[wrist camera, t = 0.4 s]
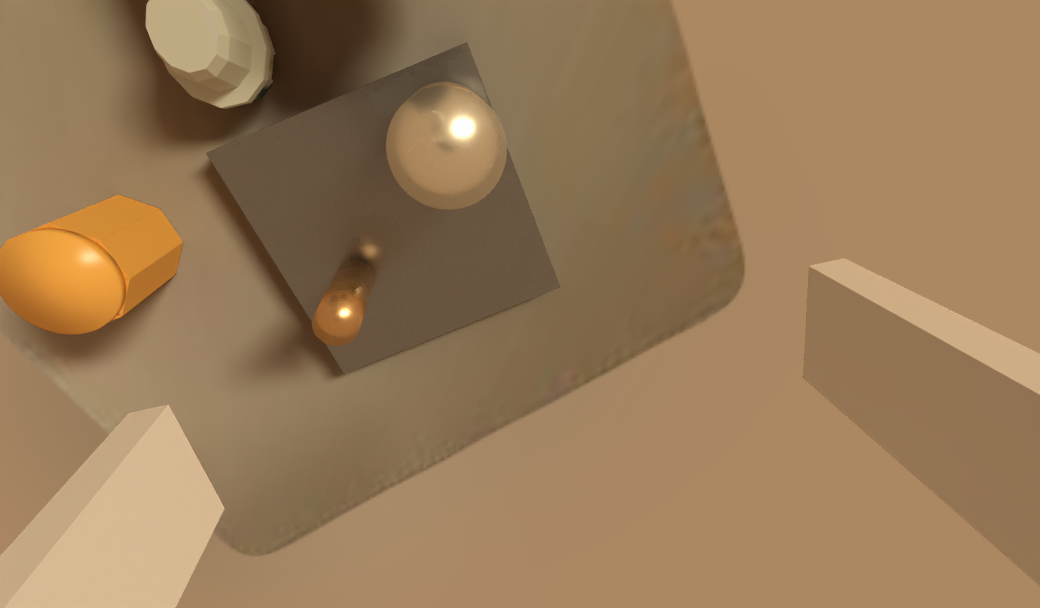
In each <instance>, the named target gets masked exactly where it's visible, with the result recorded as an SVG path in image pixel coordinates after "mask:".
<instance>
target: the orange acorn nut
mask: <svg viewBox="0 0 1040 608" xmlns="http://www.w3.org/2000/svg"><path fill="white" fill-rule="evenodd" d="M182 245H183V241H182V240H181V238H180V237H179V235H178V234H177V233H176V231H175V230H174V228H173V227H172V225H171V224H170V222H169V221H168V220H167V218H166V217H165V215H164V214H163V212H162V211H161V209H159V208H156V207H153V206H150V205H147V204H144V203H141V202H139V201H136V200H133V199H130V198H127V197H124V196H121V195H117V196H114V197H112V198H109V199H107V200H104V201H102V202H99V203H97V204H94V205H92V206H89V207H87V208H84V209H82V210H79V211H77V212H75V213H72V214H70V215H67V216H65V217H62V218H60V219H57V220H55V221H52V222H50V223H47V224H45V225H43V226H40V227H38V228H36V229H33V230H31V231H29V232H26V233H24V234H21V235H19V236H16V237H14V238H12V239H10V240H7V241H6V243H5V244H4V245H3V246H2V247H1V249H0V295H1V296H2V298H3V299H4V301H5V302H6V303H7V304H8V306H9V307H10V308H11V309H12V310H13V311H14V312H15V313H17V314H18V315H19V316H20V317H22V318H23V319H25V320H26V321H28V322H29V323H31V324H33V325H35V326H37V327H40V328H42V329H45V330H48V331H51V332H55V333H60V334H83V333H88V332H92V331H94V330H97V329H99V328H101V327H102V326H104V325H105V324H107V323H108V322H110V321H112V320H115V319H117V318H120V317H122V316H123V315H125V314H126V313H127V312H128V311H130V310H131V309H132V308H133V307H135V306H136V305H137V304H139V303H140V302H141V301H142V300H144V299H145V298H146V297H147V296H149V295H150V294H151V293H152V292H154V291H155V290H156V289H158V288H159V287H160V286H161V285H163V284H164V283H165V282H166V281H168V280H169V279H170V278H172V277H173V276H174V275H175V274H176V271H177V267H178V263H179V258H180V254H181V250H182Z"/></svg>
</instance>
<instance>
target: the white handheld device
mask: <svg viewBox="0 0 1040 608" xmlns="http://www.w3.org/2000/svg"><path fill="white" fill-rule="evenodd" d="M146 29H147V31H148V34H149V36H150V39H151V41H152V44H153V46H154V49H155V51H156V52H157V54H158V55H159V56H160V57H161V59H162V60H163V61H164V64H165V66H166V69H167V71H168V72H169V73H170V74H171V75H172V76H173V77H174V78H175V79H176V81H177V82H178V83H179V84H180V85H181V86H182V87H183V88H184V89H185V90H186V91H187V92H188V93H189V94H190V95H191V96H192V97H193V98H196V99H199V100H201V101H204V102H206V103H209V104H212V105H214V106H217V107H220V108H224V109H228V108H232V107H236V106H240V105H244V104H248V103H252V102H253V100H255V99H259V98H261V96H262V95H263V94H264V93H265V91H266V90H267V89H268V87H269V86H270V85H271V83H272V82H273V80H272V70H273V59H274V55H276V53H275V50H274V48H273V45H272V42H271V39H270V36H269V33H268V30H267V27H266V26H264V25H263V24H262V22H261V19H260V16H259V15H258V13H257V12H256V11H255V10H254V9H253V8H252V6H251V5H250V4H249V3H248V2H247V1H246V0H149V2H148V3H147V4H146Z"/></svg>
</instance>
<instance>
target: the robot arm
mask: <svg viewBox="0 0 1040 608" xmlns="http://www.w3.org/2000/svg"><path fill="white" fill-rule="evenodd" d="M808 275H809V276H808V294H807V313H806V332H805V351H804V352H805V353H804V370H803V378H804V379H805V380H806V381H807V382H808V383H809V384H811V385H812V386H813V387H814V388H815V389H816V390H817V391H818V392H820V393H821V394H822V395H823V396H824V397H825V398H826V399H828V400H829V401H830V402H831V403H832V404H833V405H834V406H836V407H837V408H838V409H839V410H840V411H841V412H842V413H844V414H845V415H846V416H847V417H848V418H849V419H850V420H852V421H853V422H854V423H855V424H856V425H857V426H858V427H859V428H861V429H862V430H863V431H864V432H865V433H866V434H867V435H869V436H870V437H871V438H872V439H873V440H874V441H876V442H877V443H878V444H879V445H880V446H881V447H882V448H883V449H885V450H886V451H887V452H888V453H889V454H890V455H891V456H892V457H894V458H895V459H896V460H897V461H898V462H899V463H900V464H902V465H903V466H904V467H905V468H906V469H908V471H910V472H911V473H912V474H913V475H914V476H915V477H917V478H918V479H919V480H920V481H921V482H922V483H923V484H925V485H926V486H927V487H928V488H929V489H930V490H931V491H932V492H933V493H935V494H936V495H937V496H938V497H939V498H940V499H942V500H943V501H944V502H945V503H946V504H947V505H948V506H949V507H951V508H952V509H953V510H954V511H955V512H956V513H957V514H959V515H960V516H961V517H962V518H963V519H964V520H965V521H967V522H968V523H969V524H970V525H971V526H972V527H973V528H975V529H976V530H977V531H978V532H979V533H980V534H981V535H982V536H984V537H985V538H986V539H987V540H988V541H989V542H990V543H992V544H993V545H994V546H995V547H996V548H997V549H999V550H1000V551H1001V552H1002V553H1003V554H1004V555H1005V556H1006V557H1007V558H1009V559H1010V560H1011V561H1012V562H1014V564H1015V565H1017V566H1018V567H1019V568H1020V569H1021V570H1022V571H1023V572H1025V573H1026V574H1027V575H1028V576H1029V577H1030V578H1031V579H1033V580H1034V581H1035V582H1036V583H1037V584H1038V585H1039V586H1040V354H1039V353H1037V352H1035V351H1033V350H1031V349H1029V348H1027V347H1025V346H1023V345H1020V344H1019V343H1016V342H1014V341H1012V340H1010V339H1008V338H1006V337H1004V336H1002V335H1000V334H998V333H996V332H994V331H992V330H990V329H988V328H986V327H984V326H982V325H980V324H977V323H975V322H974V321H971V320H969V319H967V318H965V317H963V316H961V315H959V314H957V313H955V312H953V311H951V310H949V309H947V308H945V307H943V306H941V305H939V304H936V303H935V302H933V301H931V300H928V299H926V298H924V297H922V296H920V295H918V294H916V293H914V292H912V291H910V290H908V289H906V288H904V287H902V286H899V285H898V284H896V283H894V282H892V281H890V280H888V279H886V278H883V277H881V276H879V275H877V274H875V273H873V272H871V271H869V270H867V269H865V268H863V267H861V266H859V265H857V264H855V263H853V262H851V261H849V260H847V259H845V258H844V259H839V260H835V261H830V262H825V263H821V264H816V265H812V266H809V274H808ZM224 509H225V508H224V506H223V505H222V503H221V501H220V499H219V497H218V495H217V494H216V492H215V490H214V488H213V486H212V484H211V482H210V481H209V479H208V477H207V475H206V473H205V471H204V470H203V468H202V466H201V464H200V462H199V460H198V459H197V457H196V455H195V453H194V451H193V449H192V447H191V446H190V444H189V442H188V440H187V438H186V436H185V435H184V433H183V431H182V429H181V427H180V425H179V424H178V422H177V420H176V418H175V416H174V414H173V412H172V411H171V409H170V407H169V405H165V406H160V407H155V408H151V409H146V410H141V411H137V412H132V413H129V414H128V415H127V416H126V417H125V418H124V419H123V420H122V421H121V422H120V424H119V425H118V426H117V427H116V428H115V429H114V430H113V431H112V432H111V434H110V435H109V436H108V437H107V438H106V439H105V440H104V441H103V442H102V444H101V445H100V446H99V447H98V448H97V449H96V450H95V451H94V452H93V454H92V455H91V456H90V457H89V458H88V459H87V460H86V461H85V463H84V464H83V465H82V466H81V467H80V468H79V469H78V470H77V471H76V472H75V474H74V475H73V476H72V477H71V478H70V479H69V480H68V481H67V482H66V484H65V485H64V486H63V487H62V488H61V489H60V490H59V491H58V492H57V494H56V495H55V496H54V497H53V498H52V499H51V500H50V501H49V502H48V503H47V505H46V506H45V507H44V508H43V509H42V510H41V511H40V512H39V514H38V515H37V516H36V517H35V518H34V519H33V520H32V521H31V522H30V524H29V525H28V526H27V527H26V528H25V529H24V530H23V531H22V532H21V533H20V535H19V536H18V537H17V538H16V539H15V540H14V541H13V542H12V544H11V545H10V546H9V547H8V548H7V549H6V550H5V551H4V552H3V554H1V556H0V608H176V606H177V604H178V602H179V600H180V598H181V596H182V594H183V591H184V590H185V588H186V586H187V583H188V581H189V579H190V577H191V575H192V573H193V571H194V569H195V567H196V565H197V563H198V561H199V559H200V557H201V555H202V553H203V551H204V549H205V547H206V545H207V543H208V541H209V539H210V537H211V535H212V533H213V531H214V529H215V527H216V525H217V523H218V521H219V519H220V517H221V515H222V513H223V511H224Z"/></svg>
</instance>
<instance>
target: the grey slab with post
mask: <svg viewBox="0 0 1040 608" xmlns="http://www.w3.org/2000/svg"><path fill="white" fill-rule="evenodd" d="M206 154H207V156H208V157H209V159H210V160H211V162H212V164H213V165H214V167H215V168H216V170H217V172H218V173H219V175H220V176H221V178H222V180H223V181H224V183H225V184H226V186H227V188H228V189H229V191H230V192H231V194H232V196H233V197H234V199H235V200H236V202H237V204H238V205H239V207H240V208H241V210H242V212H243V213H244V215H245V216H246V218H247V220H248V221H249V223H250V224H251V226H252V228H253V229H254V231H255V232H256V234H257V236H258V237H259V239H260V240H261V242H262V244H263V245H264V247H265V248H266V250H267V252H268V253H269V255H270V256H271V258H272V260H273V261H274V263H275V264H276V266H277V268H278V269H279V271H280V272H281V274H282V276H283V277H284V279H285V280H286V282H287V284H288V285H289V287H290V288H291V290H292V292H293V293H294V295H295V296H296V298H297V300H298V301H299V303H300V304H301V306H302V308H303V309H304V311H305V312H306V314H307V316H308V317H309V319H310V320H311V322H312V329H313V332H314V333H315V335H316V336H317V337H318V339H320V340H321V341H322V342H324V343H325V344H326V346H327V348H328V349H329V351H330V352H331V354H332V356H333V357H334V359H335V360H336V362H337V364H338V365H339V367H340V368H341V370H342V372H343V373H344V374H346V373H349V372H351V371H354V370H356V369H359V368H361V367H364V366H366V365H368V364H371V363H373V362H376V361H378V360H381V359H383V358H386V357H388V356H391V355H393V354H396V353H398V352H401V351H403V350H406V349H408V348H411V347H413V346H416V345H418V344H420V343H423V342H425V341H428V340H430V339H433V338H435V337H438V336H440V335H443V334H445V333H448V332H450V331H453V330H455V329H458V328H460V327H463V326H465V325H468V324H470V323H473V322H475V321H477V320H480V319H482V318H485V317H487V316H490V315H492V314H495V313H497V312H500V311H502V310H505V309H507V308H510V307H512V306H515V305H517V304H520V303H522V302H525V301H527V300H529V299H532V298H534V297H537V296H539V295H542V294H544V293H547V292H549V291H552V290H554V289H557V288H559V287H560V285H559V283H558V280H557V277H556V275H555V272H554V269H553V267H552V264H551V261H550V259H549V256H548V254H547V251H546V248H545V246H544V243H543V240H542V238H541V235H540V233H539V230H538V227H537V225H536V222H535V219H534V217H533V214H532V212H531V209H530V206H529V204H528V201H527V198H526V196H525V193H524V191H523V188H522V185H521V183H520V180H519V177H518V175H517V172H516V170H515V167H514V164H513V162H512V159H511V156H510V154H509V151H508V149H507V143H506V137H505V133H504V130H503V127H502V125H501V123H500V120H499V119H498V117H497V115H496V114H495V112H494V111H493V109H492V107H491V104H490V101H489V99H488V96H487V93H486V91H485V88H484V86H483V83H482V80H481V78H480V75H479V72H478V70H477V67H476V65H475V62H474V59H473V57H472V54H471V51H470V49H469V46H468V44H467V42H466V43H464V44H462V45H459V46H457V47H455V48H452V49H450V50H447V51H445V52H443V53H440V54H438V55H436V56H433V57H431V58H429V59H426V60H424V61H422V62H419V63H417V64H414V65H412V66H410V67H407V68H405V69H403V70H400V71H398V72H396V73H393V74H391V75H389V76H386V77H384V78H382V79H379V80H377V81H374V82H372V83H370V84H367V85H365V86H363V87H360V88H358V89H356V90H353V91H351V92H349V93H346V94H344V95H341V96H339V97H337V98H334V99H332V100H330V101H327V102H325V103H323V104H320V105H318V106H316V107H313V108H311V109H308V110H306V111H304V112H301V113H299V114H297V115H294V116H292V117H290V118H287V119H285V120H283V121H280V122H278V123H275V124H273V125H271V126H268V127H266V128H264V129H261V130H259V131H257V132H254V133H252V134H250V135H247V136H245V137H242V138H240V139H238V140H235V141H233V142H231V143H228V144H226V145H224V146H221V147H219V148H217V149H214V150H212V151H209V152H207V153H206Z"/></svg>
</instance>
